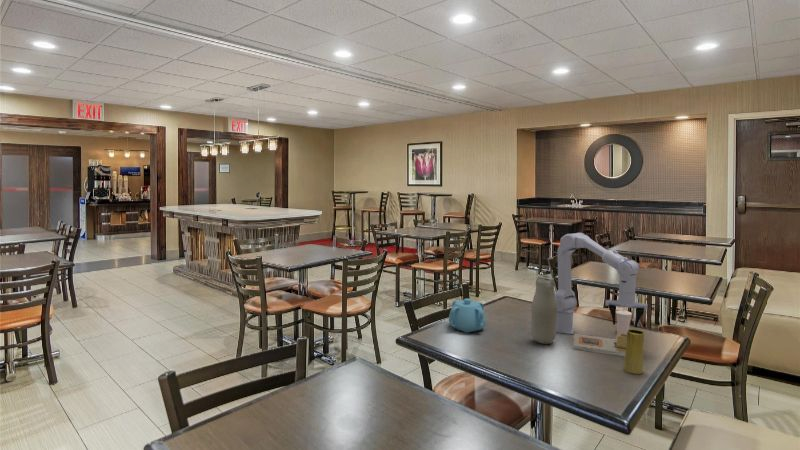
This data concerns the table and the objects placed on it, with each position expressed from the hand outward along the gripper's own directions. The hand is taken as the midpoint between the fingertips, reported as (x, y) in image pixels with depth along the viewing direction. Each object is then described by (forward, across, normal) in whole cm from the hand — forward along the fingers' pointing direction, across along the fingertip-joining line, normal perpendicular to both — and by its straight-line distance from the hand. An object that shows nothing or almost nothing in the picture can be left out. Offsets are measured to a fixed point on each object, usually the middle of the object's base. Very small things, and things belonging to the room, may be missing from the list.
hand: (624, 325), depth 177 cm
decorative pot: (+10, -63, -1) cm, 64 cm away
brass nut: (+10, 0, 0) cm, 10 cm away
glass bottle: (+10, -30, -5) cm, 32 cm away
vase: (+10, +2, -20) cm, 23 cm away
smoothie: (+10, +1, +20) cm, 22 cm away
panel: (+10, -6, 0) cm, 12 cm away
